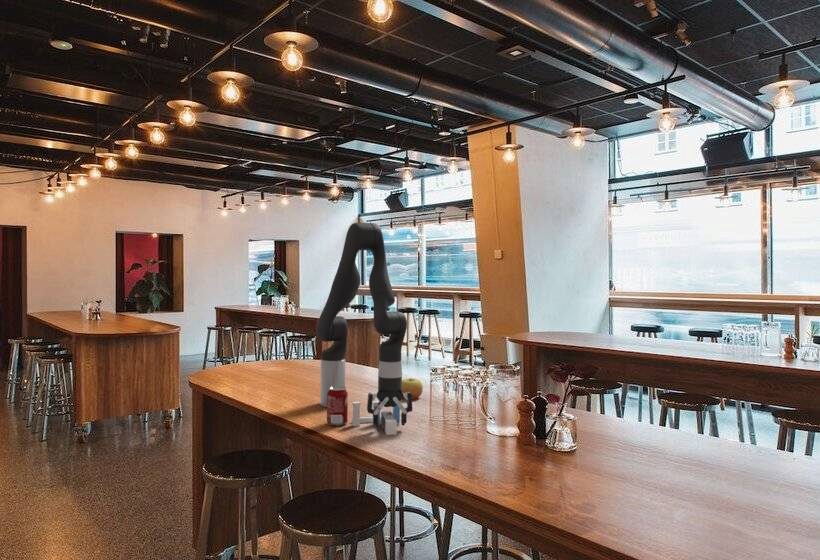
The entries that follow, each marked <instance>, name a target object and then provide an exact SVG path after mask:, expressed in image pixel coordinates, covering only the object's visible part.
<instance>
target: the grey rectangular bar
mask: <svg viewBox="0 0 820 560" xmlns="http://www.w3.org/2000/svg"><path fill="white" fill-rule="evenodd" d="M380 417H381V422H380V424H381V426H383V427H382V429H383V431H384V433H385V435H386V436H395V435H396V436H397V432H398V431H397V427H398V425H397V421H396V420H395V418H394V416H393V412H392V410H388V411H380Z"/></svg>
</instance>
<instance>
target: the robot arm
mask: <svg viewBox="0 0 820 560" xmlns="http://www.w3.org/2000/svg"><path fill="white" fill-rule="evenodd" d="M360 251H370V252H371V253H372V257H373V263H372V268H371V272H370V275H369V278H368V287H369V292H370V296H371V299H372V302H373V326H374V329H375V331H376V332H377V333H378V334H379V335H383V336H386V335H390V336H389V338H388V339H387V340H385V341H383V342H381V343H380V344H379V348H378V349H379V352H378V356H379V357H378V360H379V361H378V369H377V370H378V371H377V372H378V373H377V374H378V377H377V381H378V382H377V393H371V392H368V394H367V404H366V405H367V406H366V411H367V413H368V414H371V415H372V417H373V422H372V425H373V424H374V425H375V426H374V425H373V426H374V427H375V428H377V427H378V426H379V425H378V412H379V411H380V412H381V411H382V409H383V407H385V408H390V407H392V408H393V407H395V406H397V405H398V407H399V408H400V412H401V413H400V417H401V418H400V423H401V425H402V426H405V424H407V418H408V417H407V416H408V415H407V414H408V413H410V412H411V413H412V412H413V399H412V394H411V393H410V392H409V391H408V392H407V393H402V380H403V365H402V348H403V344H404V339H405V336H406V333H407V329H408V321H407V317H406V315H405V314H404V312H403V313H402V312H401V311H388V310H387V308H389V307H391V306H393V305H394V304H395V301H396V299H395V294H394V291H393V287H392V284H391V280H390V277H389V272H388V265H387V256H386V248H385V240H384V235H383V231H382V228H381V227H380V225H378V224H377V223H374V222H353V223H352V224H351V225H349V227H348V229H347V232H346V235H345V240H344V243H343V250H342V252H341V253H342V254H341V257H340V260H339V264H338V267H337V270H336V273H335V275H334V278H333V281H332V284H331V287H330V291H329V294H328V297H327V299H326V302H325V305H324V308H323V309H322V311H321V314H320V316H319V318H318V320H317V324H316V327H315V328H316V329H315V333H316V337H317V339H318V340H319V341H320V342H327V343H328V342H333V343H332V345H331V346H329V347H327V348H326V349H323V350H322V351H321V352H320V406H322V407H324V408H327V393H328V391H329V388H330V387H333V386H343V387H346V355H347V346H348V345H347V344H348V329H349V328H348V327H349V326H348V322H347V319H346V318H345V317H344V316H342V315H339V316H338V314H339V313H340V312H341V311H342V310H343V309H345V308H346V307H348V305H349V304H350V303H352V302H353V300H354V299H355V298H356V296H357V294H358V291H359V288H360V286H361V281H362V280H361V275H360V272H359V269H358V267H357V264H356V260H357V255H358V253H359V252H360ZM403 396H404V397H405V398H403ZM376 398H377V401H379V402H378V404H377V405H376V407H375V408H374V409H373V403H372V401H376V400H375V399H376ZM402 399H405V400H406V404H407V405H406V407H404V406H403V404H402V402H401V401H402Z"/></svg>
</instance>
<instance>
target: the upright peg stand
mask: <svg viewBox="0 0 820 560" xmlns="http://www.w3.org/2000/svg"><path fill="white" fill-rule="evenodd" d="M378 402H379V400H374V401H372V409H374V408H375V407H376V405H377V404H378ZM351 403H352V418H351V419H352V420H351V424H352V426H353V427H360V424H361V423H362V424H364V423H367V422H368V423H372V426H374V427H375V425H374V424H373V416H368V417H367V416H366V417H364V416H363V417H360V416H361V415H360V414H361V413H360V412H361V404H362V403H361V401H352V402H351ZM400 412H401V409H400V408H399V407H398V405H397V406H395V407H392V414H393V416H394V418H395V420H396V421H397V426H398V425H400V423H401V418H400V417H401V413H400ZM380 424H381V410H380V411H379V412H378V426H380Z"/></svg>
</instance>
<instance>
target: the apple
mask: <svg viewBox="0 0 820 560" xmlns="http://www.w3.org/2000/svg"><path fill="white" fill-rule="evenodd" d="M423 387H424V386H423V383H422V381H421V380H419V379H416V378H402V393H407V392H408V391H409V392H410V393H411V394H412V400H416V399H418V398H419V397H421V395H422V394H423V389H424V388H423ZM402 399H405V397H404V396H403V398H402Z"/></svg>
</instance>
